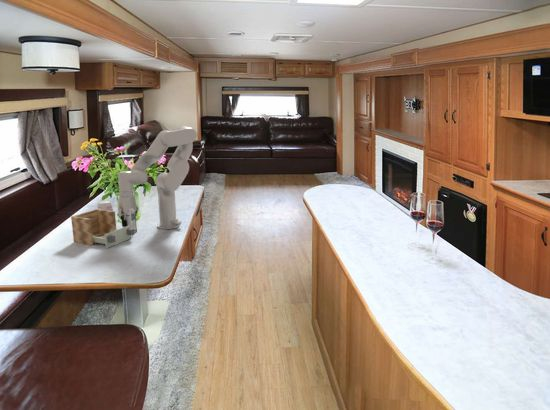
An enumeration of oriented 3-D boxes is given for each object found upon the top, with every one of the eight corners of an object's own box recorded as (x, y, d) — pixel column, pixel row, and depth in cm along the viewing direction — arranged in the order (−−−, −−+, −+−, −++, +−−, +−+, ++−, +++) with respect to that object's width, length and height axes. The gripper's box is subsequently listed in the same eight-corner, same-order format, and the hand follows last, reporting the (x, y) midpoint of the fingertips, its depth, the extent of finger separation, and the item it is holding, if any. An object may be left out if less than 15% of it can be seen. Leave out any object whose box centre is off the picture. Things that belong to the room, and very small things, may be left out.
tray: (135, 238, 271) (134, 226, 270) (111, 248, 256) (110, 235, 254) (113, 235, 278) (112, 223, 276) (88, 244, 263) (87, 231, 261)
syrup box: (132, 234, 280) (130, 209, 277) (122, 233, 281) (120, 208, 278) (137, 231, 285) (135, 206, 282) (127, 231, 287) (125, 206, 283)
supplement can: (103, 225, 299) (100, 200, 295) (116, 225, 298) (114, 200, 295) (97, 229, 291) (94, 203, 288) (111, 229, 290) (108, 203, 287)
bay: (117, 236, 277) (114, 211, 274) (92, 245, 262) (89, 219, 258) (99, 233, 283) (97, 209, 280) (73, 242, 267) (71, 216, 264)
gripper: (132, 189, 287) (134, 220, 291) (110, 196, 272) (112, 228, 276) (142, 191, 284) (144, 221, 288) (120, 197, 269) (123, 229, 273)
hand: (129, 224), depth 282 cm, fingers closed on syrup box, 6 cm apart
